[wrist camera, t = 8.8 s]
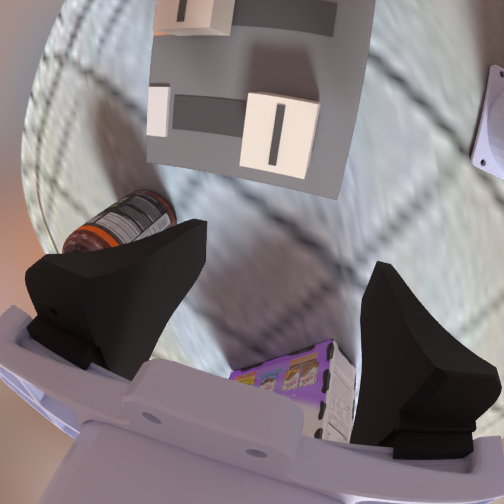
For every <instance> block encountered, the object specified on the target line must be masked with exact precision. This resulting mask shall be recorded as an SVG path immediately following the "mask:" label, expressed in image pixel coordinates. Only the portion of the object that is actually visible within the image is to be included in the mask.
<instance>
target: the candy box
mask: <svg viewBox="0 0 504 504" xmlns="http://www.w3.org/2000/svg"><path fill="white" fill-rule="evenodd" d="M229 379H230V380H233V381H237V382H240V383H244V384H247V385H251V386H255V387H258V388H262V389H266V390H270V391H273V392H275V393H278V394H280V395H283V396H285V397H288V398H290V399H291V400H292V401H293V402H294V403H295V404H297V405H298V406H299V407H300V408H301V409H302V410H303V411H304V425H303V430H302V434H303V435H305V436H308V437H311V438H317V439H323V440H329V441H335V442H342V443H349V442H350V438H351V434H352V428H353V418H354V403H355V386H356V368H355V367H354V366H353V364H352V363H351V362H350V360H349V359H348V358H347V356H346V355H345V354H344V352H343V351H342V349H341V348H340V347H339V345H338V344H337V343H336V342H335V340H328V341H325V342H322V343H319V344H316V345H314V346H311V347H309V348H306V349H303V350H300V351H297V352H294V353H291V354H289V355H285V356H282V357H279V358H276V359H273V360H270V361H267V362H264V363H260V364H257V365H254V366H251V367H248V368H244V369H240V370H237V371H233V372H231V374H230V377H229Z"/></svg>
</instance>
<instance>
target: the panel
mask: <svg viewBox="0 0 504 504" xmlns="http://www.w3.org/2000/svg"><path fill="white" fill-rule="evenodd" d="M374 8H375V0H235V4H234V11H233V18H232V24H231V31H230V36H219V35H192V36H177V35H173V34H168V33H163V32H159V31H154V38H153V46H152V56H151V66H150V78H149V92H148V110H147V141H146V162H148V163H155V164H162V165H168V166H175V167H181V168H187V169H193V170H199V171H205V172H210V173H216V174H221V175H226V176H232V177H237V178H242V179H247V180H252V181H257V182H261V183H266V184H271V185H275V186H280V187H284V188H289V189H293V190H298V191H302V192H306V193H310V194H314V195H319V196H323V197H327V198H331V199H334V200H337V199H338V195H339V191H340V187H341V183H342V179H343V175H344V171H345V166H346V162H347V158H348V154H349V149H350V145H351V140H352V136H353V131H354V126H355V122H356V117H357V112H358V107H359V102H360V97H361V91H362V86H363V81H364V75H365V69H366V63H367V57H368V51H369V45H370V38H371V31H372V24H373V16H374ZM252 92H266V93H273V94H280V95H286V96H291V97H297V98H302V99H307V100H312V101H317V102H321V105H320V110H319V116H318V121H317V127H316V132H315V137H314V143H313V148H312V153H311V158H310V163H309V167H308V169H307V172H306V175H305V178H304V179H301V178H296V177H292V176H287V175H283V174H278V173H274V172H269V171H264V170H259V169H254V168H249V167H243V166H239V165H240V156H241V148H242V139H243V131H244V123H245V115H246V108H247V100H248V93H252Z"/></svg>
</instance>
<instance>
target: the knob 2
mask: <svg viewBox="0 0 504 504" xmlns="http://www.w3.org/2000/svg"><path fill="white" fill-rule="evenodd" d="M320 105H321V102H317V101H312V100H307V99H302V98H297V97H291V96H286V95H280V94H273V93H266V92H252V93H248V100H247V108H246V115H245V123H244V131H243V139H242V148H241V156H240V165H239V166H243V167H249V168H254V169H259V170H264V171H269V172H274V173H278V174H283V175H287V176H292V177H296V178H301V179H304V178H305V175H306V172H307V169H308V167H309V163H310V158H311V153H312V148H313V143H314V137H315V132H316V127H317V121H318V116H319V110H320Z"/></svg>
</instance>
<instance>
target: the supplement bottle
mask: <svg viewBox="0 0 504 504" xmlns="http://www.w3.org/2000/svg"><path fill="white" fill-rule="evenodd" d="M175 225H176V220H175V216H174V214H173V211H172V209H171V207H170V206H169V204H168V203H167V202H166V201H165V200H164V199H163V198H162V197H160V196H159V195H157V194H156V193H153V192H151V191H147V190H138V191H135V192H132V193H131V194H129V195H127V196H125V197H124V198H122V199H120V200H119V201H117V202H116V203H114V204H113V205H111V206H110V207H108V208H107V209H105V210H104V211H102V212H101V213H99V214H98V215H96V216H95V217H93V218H92V219H91V220H89V221H88V222H86V223H85V224H84V225H82V226H81V227H79V228H78V229H77V230H75V231H74V232H73V233H72V234H71V235H69V237H68V238H67V239H66V241H65V243H64V245H63V251H62V254H69V253H80V252H88V251H95V250H100V249H105V248H110V247H115V246H119V245H123V244H126V243H130V242H133V241H136V240H139V239H142V238H144V237H147V236H150V235H153V234H155V233H158V232H160V231H163V230H165V229H168V228H170V227H173V226H175Z"/></svg>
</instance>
